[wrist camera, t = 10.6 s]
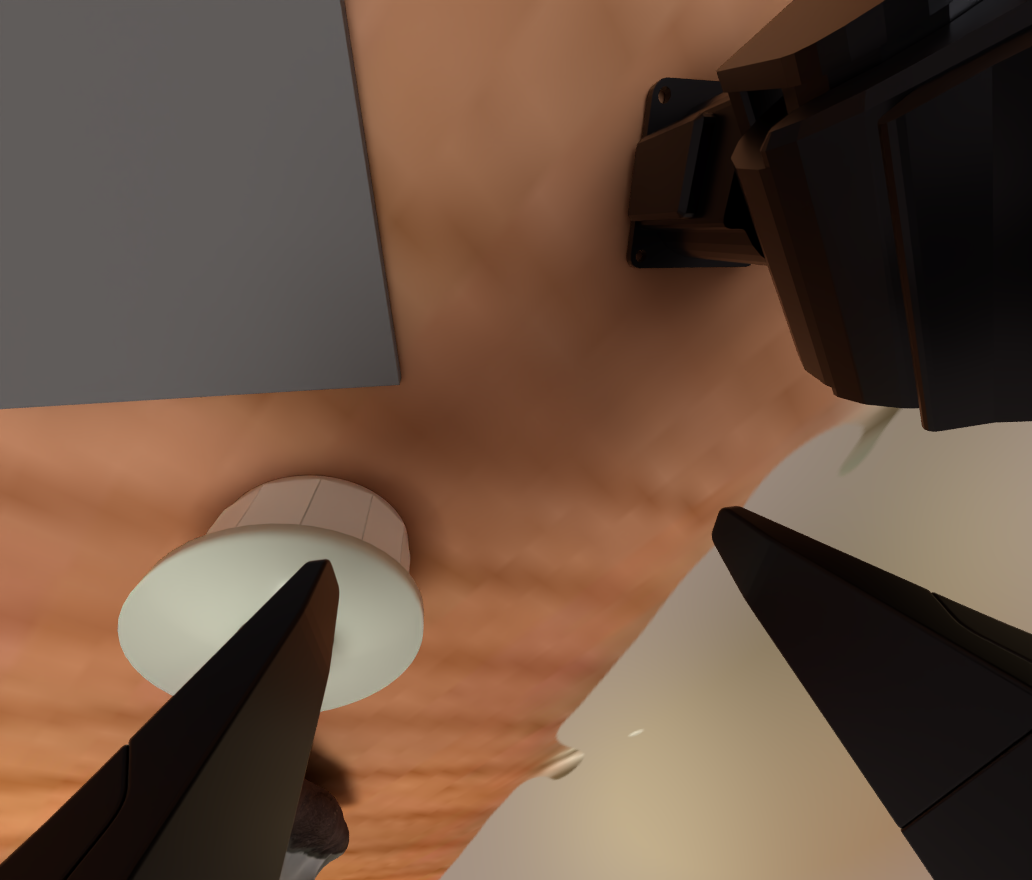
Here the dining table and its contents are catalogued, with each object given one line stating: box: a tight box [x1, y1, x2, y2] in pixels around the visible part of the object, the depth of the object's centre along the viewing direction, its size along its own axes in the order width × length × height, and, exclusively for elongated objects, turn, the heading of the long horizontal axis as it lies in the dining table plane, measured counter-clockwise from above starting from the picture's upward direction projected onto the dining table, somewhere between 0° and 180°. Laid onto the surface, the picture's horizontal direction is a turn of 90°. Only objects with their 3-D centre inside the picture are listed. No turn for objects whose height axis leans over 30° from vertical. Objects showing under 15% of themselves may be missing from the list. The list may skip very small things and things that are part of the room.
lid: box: [118, 523, 424, 712], centre depth 16 cm, size 12×12×4 cm
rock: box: [280, 779, 349, 880], centre depth 30 cm, size 18×11×8 cm, turn 10°
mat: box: [0, 0, 401, 409], centre depth 13 cm, size 16×16×1 cm
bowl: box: [206, 475, 410, 573], centre depth 20 cm, size 10×10×5 cm
